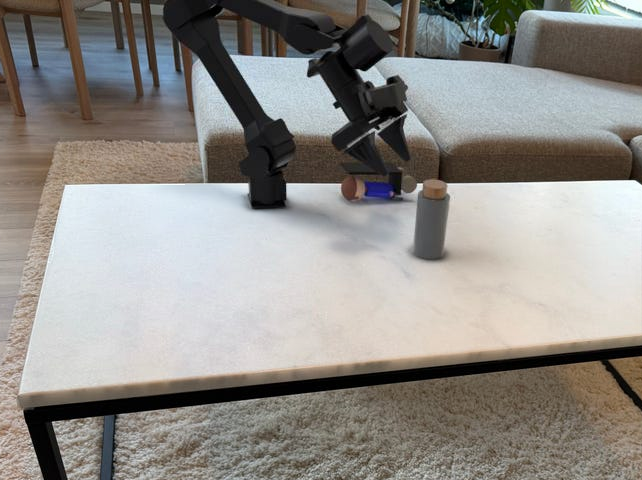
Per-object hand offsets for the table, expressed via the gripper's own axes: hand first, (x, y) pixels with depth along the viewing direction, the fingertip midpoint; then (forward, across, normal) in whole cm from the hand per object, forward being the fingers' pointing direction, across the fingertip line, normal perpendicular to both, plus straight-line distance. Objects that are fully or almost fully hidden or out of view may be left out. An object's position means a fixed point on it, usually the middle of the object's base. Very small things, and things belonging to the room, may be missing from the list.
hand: (398, 167), depth 121 cm
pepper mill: (+15, -2, +3) cm, 16 cm away
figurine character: (+3, +15, +17) cm, 23 cm away
